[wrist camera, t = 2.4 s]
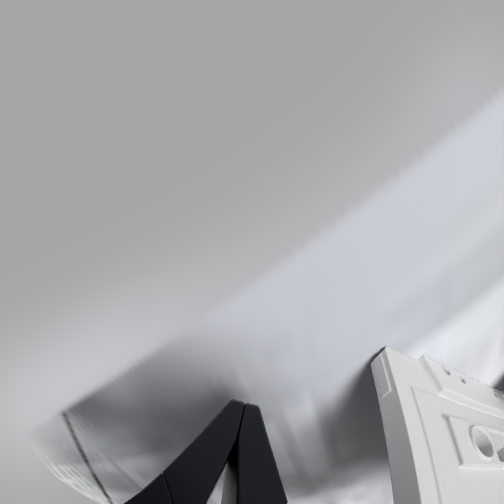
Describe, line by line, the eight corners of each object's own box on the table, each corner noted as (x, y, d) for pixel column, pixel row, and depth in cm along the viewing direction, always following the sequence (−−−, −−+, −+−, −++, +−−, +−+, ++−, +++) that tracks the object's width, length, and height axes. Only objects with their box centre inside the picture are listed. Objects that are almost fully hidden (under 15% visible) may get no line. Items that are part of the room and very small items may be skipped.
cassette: (521, 398, 10) (563, 495, 3) (500, 419, 10) (534, 517, 3) (390, 332, 9) (445, 547, 2) (359, 367, 10) (378, 569, 3)
